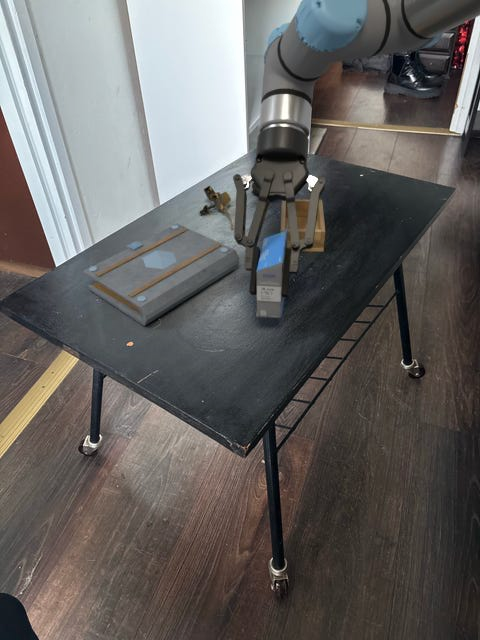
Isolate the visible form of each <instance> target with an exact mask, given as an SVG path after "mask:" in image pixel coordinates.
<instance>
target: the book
mask: <svg viewBox="0 0 480 640" xmlns="http://www.w3.org/2000/svg"><path fill="white" fill-rule="evenodd" d="M239 264H240V257H239V254H238V252H237V250H236V249H234V248H232V247H230V246H228V245H226V244H223V243H221V242H219V241H217V240H215V239H213V238H211V237H208V236H206V235H204V234H201V233H200V232H197V231H195V230H192V229H190V228H188V227H186V226H184V225H181V224H179V223H175V224H173V225H171V226H169V227H167V228H165V229H163V230H161V231H159V232H157V233H155V234H153V235H151V236H149V237H147V238H145V239H143V240H142V241H139V240H136V241H134V242H132V243H129V244H127V245H126V249H123V250H122V251H120V252H118V253H116V254H114V255H112V256H110V257H108V258H106V259H104V260H102V261H100V262H97V263H96V264H94V265H91V266H90V267H88V268H86V269H85V270H83V271H82V272H83V274H84V275H86V276H87V277H89V278H91V279H92V280H93V281H95V282H93V283H91V284H88V285H87V289H88V290H89V291H90V292H92V293H94V295H96V296H98V297H99V298H101V299H103V300H104V301H106V302H107V303H108V304H110V305H112V307H114V308H116V309H118V310H119V311H121V312H122V313H124V314H125V315H127V316H128V317H130V318H131V319H133V320H134V321H136V322H137V323H139V324H140V325H142V326H143V327H145V326H147V325H148V324H150V323H151V322H153V321H155V320H156V319H158V318H159V317H161V316H163V315H164V314H166V313H167V312H169V311H170V310H172V309H174V308H175V307H177V306H178V305H180V304H181V303H184V302H185V301H186V300H188V299H189V298H191V297H193V296H194V295H195V294H197V293H199V292H201V291H202V290H204V289H205V288H206V287H208V286H210V285H211V284H213V283H214V282H216V281H218V280H219V279H220V278H223V277H224V276H226V275H227V274H228V273H231V272H232V271H233V270H235V269H236V268H238V266H239Z"/></svg>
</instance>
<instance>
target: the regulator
mask: <svg viewBox="0 0 480 640" xmlns="http://www.w3.org/2000/svg"><path fill="white" fill-rule="evenodd" d="M203 192H204V194H205V196H206V198H207V199H208V201H209V202H211V203H212V204H211V205H210V206H209V205H208V204H205V205H204V206H203V208H202V209H200V211H199V215H200V216H202V215H204V214H207V213H208V214H210V213H211V210H212V209H214V208H216V209H217V210H218V211H219V212H221V213H223V214H226V216H227V217H228V219H229V223H230V230H231V231H234V224H233V221H232V218H231V214H230V213H229V211H228V204H229V203H230V202H231V201H232V199H231V196H230V194H229V193H228V192H227V191H224V192H222V193H220V192H219V191H217V192H215V190H214V189H213V187H212V186H211V185H208V186H206V187H205V188H204V189H203Z"/></svg>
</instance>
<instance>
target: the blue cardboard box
mask: <svg viewBox="0 0 480 640" xmlns="http://www.w3.org/2000/svg"><path fill="white" fill-rule="evenodd" d="M288 225H289V220H288ZM288 225H287V230H286V231H283V232H281V231H280V232H278V233H275V234H273V235H270V236H267V237H265V238H263V239H262V244H261V249H260V251H261V253H260V258H259V262H258V267H257V271H256V274H257V283H256V284H257V295H256V317H257V318H264V319H280V320H281V318H282V316H283V312H284V311H283V310H284V304H285V298H286V297H282V283H283V272H284V261H285V250H286V248H287V233H288Z"/></svg>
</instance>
